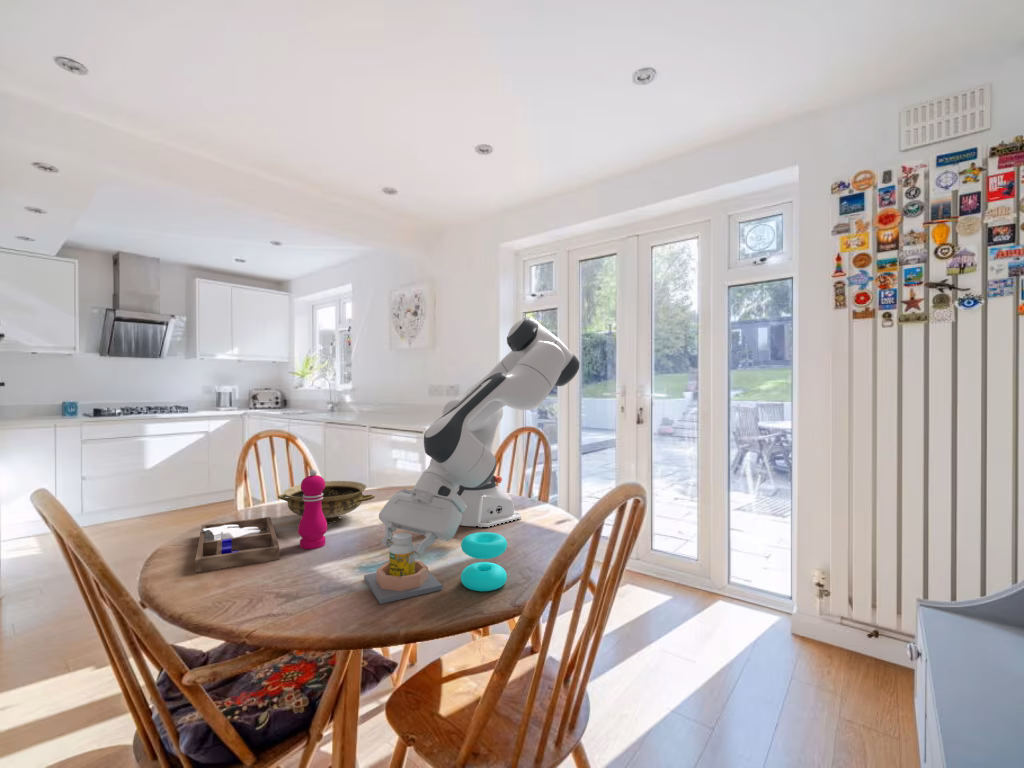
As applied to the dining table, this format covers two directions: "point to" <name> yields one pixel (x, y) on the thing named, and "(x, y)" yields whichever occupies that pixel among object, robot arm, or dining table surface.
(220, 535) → the white tapered wedge pair
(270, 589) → the dining table surface
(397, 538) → the supplement bottle
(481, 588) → the donuts
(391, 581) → the collar holder
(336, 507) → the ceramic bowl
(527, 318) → the robot arm
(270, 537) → the walnut compartment tray
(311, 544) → the pepper mill
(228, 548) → the cable holder
